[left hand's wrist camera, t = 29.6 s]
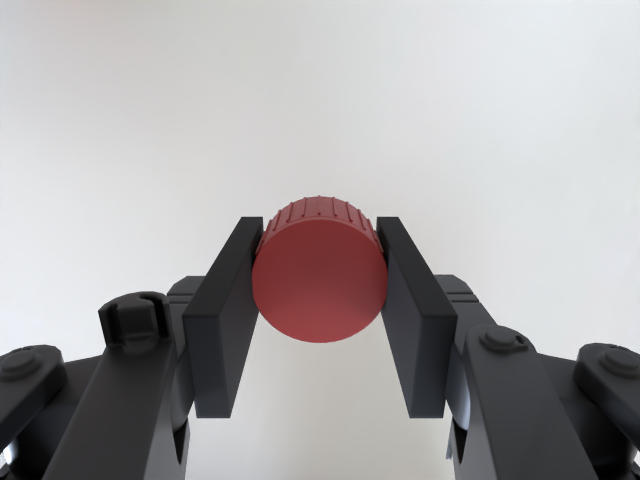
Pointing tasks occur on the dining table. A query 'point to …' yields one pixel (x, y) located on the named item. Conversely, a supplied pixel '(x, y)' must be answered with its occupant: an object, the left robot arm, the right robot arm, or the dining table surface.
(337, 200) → the cap
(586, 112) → the dining table surface
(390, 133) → the dining table surface
